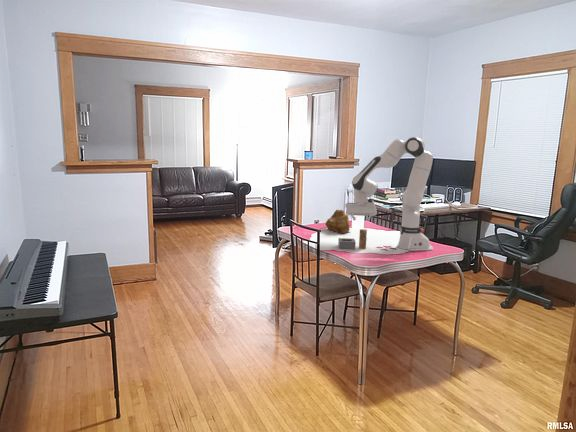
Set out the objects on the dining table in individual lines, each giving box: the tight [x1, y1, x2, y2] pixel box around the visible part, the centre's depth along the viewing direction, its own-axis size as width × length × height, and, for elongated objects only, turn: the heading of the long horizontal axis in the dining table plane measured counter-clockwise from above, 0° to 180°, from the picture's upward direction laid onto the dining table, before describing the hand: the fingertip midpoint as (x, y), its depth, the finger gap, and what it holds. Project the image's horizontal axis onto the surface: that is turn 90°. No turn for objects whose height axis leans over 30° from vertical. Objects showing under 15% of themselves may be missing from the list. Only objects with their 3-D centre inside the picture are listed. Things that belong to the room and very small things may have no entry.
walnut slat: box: [358, 228, 368, 249], centre depth 274 cm, size 4×3×12 cm
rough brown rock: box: [325, 209, 350, 234], centre depth 329 cm, size 23×17×15 cm
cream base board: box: [338, 245, 372, 252], centre depth 275 cm, size 20×11×2 cm, turn 87°
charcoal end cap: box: [337, 237, 357, 251], centre depth 275 cm, size 10×9×5 cm
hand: (361, 220), depth 283 cm, fingers open, 8 cm apart
